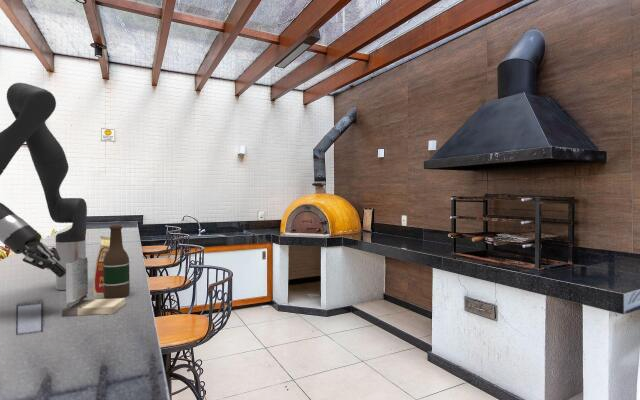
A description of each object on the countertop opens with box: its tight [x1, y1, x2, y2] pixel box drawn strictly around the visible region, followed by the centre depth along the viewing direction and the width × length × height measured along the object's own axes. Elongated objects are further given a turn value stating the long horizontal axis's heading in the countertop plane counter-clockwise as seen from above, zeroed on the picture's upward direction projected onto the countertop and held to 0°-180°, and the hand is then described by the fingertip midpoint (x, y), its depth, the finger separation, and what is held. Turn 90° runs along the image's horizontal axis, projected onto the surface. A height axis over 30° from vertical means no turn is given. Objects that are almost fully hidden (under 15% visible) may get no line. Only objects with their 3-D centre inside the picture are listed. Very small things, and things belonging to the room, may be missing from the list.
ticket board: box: [61, 297, 126, 317], centre depth 107 cm, size 14×9×2 cm, turn 99°
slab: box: [65, 257, 89, 307], centre depth 107 cm, size 2×9×13 cm, turn 9°
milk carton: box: [92, 235, 124, 297], centre depth 129 cm, size 9×9×20 cm
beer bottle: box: [103, 224, 131, 299], centre depth 122 cm, size 8×8×24 cm
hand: (64, 274), depth 106 cm, fingers closed
